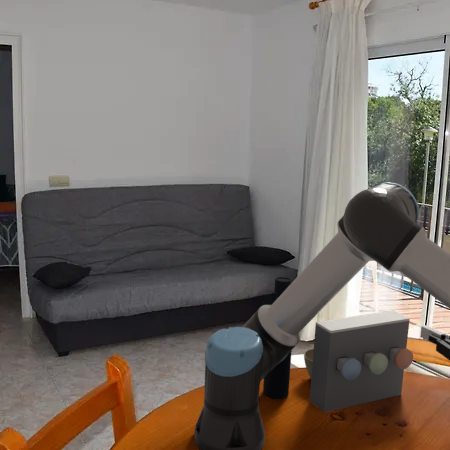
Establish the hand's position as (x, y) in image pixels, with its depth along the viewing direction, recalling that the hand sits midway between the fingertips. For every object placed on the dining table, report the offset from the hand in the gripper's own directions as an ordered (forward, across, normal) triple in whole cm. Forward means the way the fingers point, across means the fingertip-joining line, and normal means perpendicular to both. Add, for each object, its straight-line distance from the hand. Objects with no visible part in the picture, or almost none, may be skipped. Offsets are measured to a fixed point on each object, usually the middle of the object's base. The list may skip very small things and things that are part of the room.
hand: (423, 331), depth 132 cm
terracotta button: (+6, -1, -11) cm, 13 cm away
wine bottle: (+21, -27, -20) cm, 39 cm away
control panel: (+11, -9, -20) cm, 25 cm away
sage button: (+6, -9, -11) cm, 15 cm away
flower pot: (+22, -12, -21) cm, 33 cm away
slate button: (+6, -17, -11) cm, 21 cm away
